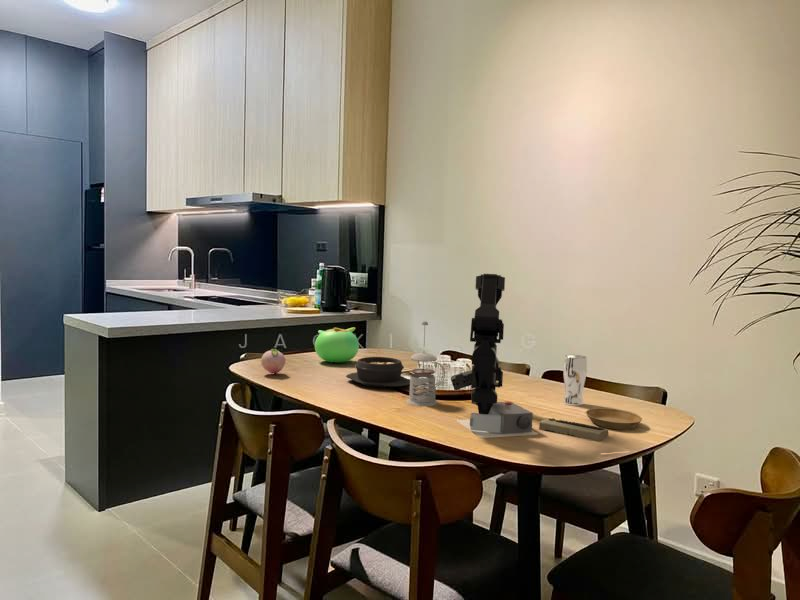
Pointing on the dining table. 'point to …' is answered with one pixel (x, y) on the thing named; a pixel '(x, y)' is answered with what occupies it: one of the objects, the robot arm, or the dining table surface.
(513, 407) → the camera body
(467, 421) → the mat
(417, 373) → the french press
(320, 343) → the green persimmon
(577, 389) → the beer glass
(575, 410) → the dining table surface
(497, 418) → the side door
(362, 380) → the casserole
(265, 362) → the decorative fruit
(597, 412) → the plant saucer
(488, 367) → the robot arm
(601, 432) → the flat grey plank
